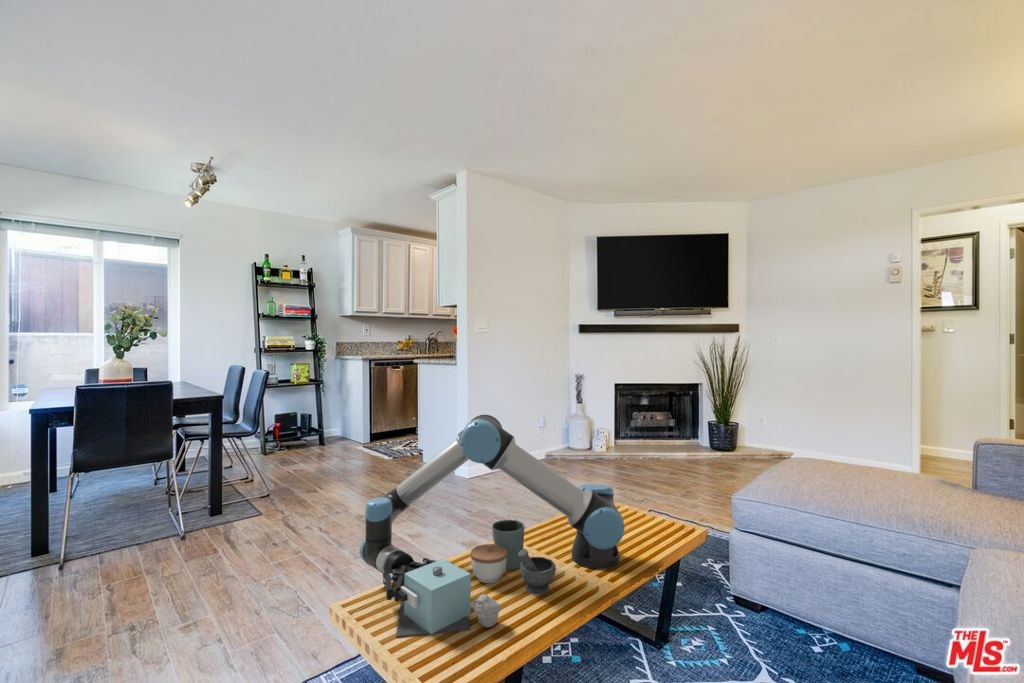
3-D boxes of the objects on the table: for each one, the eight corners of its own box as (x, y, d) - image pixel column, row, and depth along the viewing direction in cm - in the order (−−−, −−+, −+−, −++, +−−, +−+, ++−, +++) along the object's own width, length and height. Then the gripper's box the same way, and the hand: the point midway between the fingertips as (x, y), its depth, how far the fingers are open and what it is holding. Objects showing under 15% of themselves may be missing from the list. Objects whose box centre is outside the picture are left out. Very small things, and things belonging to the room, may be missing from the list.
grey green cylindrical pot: (530, 561, 146) (530, 523, 146) (513, 574, 137) (512, 533, 138) (504, 554, 151) (504, 517, 152) (485, 566, 143) (485, 526, 143)
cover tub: (442, 596, 124) (442, 554, 125) (470, 613, 116) (470, 568, 116) (404, 613, 116) (404, 568, 116) (431, 634, 108) (431, 585, 108)
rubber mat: (464, 593, 127) (464, 591, 127) (469, 630, 110) (469, 628, 110) (401, 599, 124) (401, 597, 124) (396, 637, 107) (396, 635, 107)
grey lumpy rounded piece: (476, 616, 116) (476, 588, 116) (504, 620, 114) (503, 591, 114) (469, 631, 110) (469, 601, 110) (497, 635, 108) (497, 604, 108)
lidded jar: (474, 589, 129) (474, 555, 129) (467, 572, 139) (467, 540, 139) (511, 584, 132) (511, 551, 132) (502, 567, 142) (502, 536, 142)
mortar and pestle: (541, 577, 135) (541, 536, 136) (562, 591, 128) (562, 547, 128) (509, 588, 129) (509, 545, 129) (529, 603, 121) (529, 557, 122)
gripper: (432, 563, 139) (478, 588, 124) (353, 593, 122) (395, 627, 106) (432, 538, 139) (478, 560, 124) (353, 564, 122) (395, 594, 107)
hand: (439, 591), depth 115 cm, fingers open, 13 cm apart
